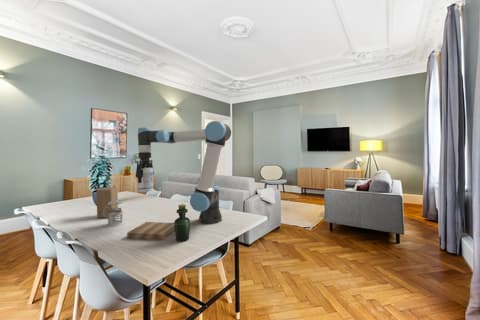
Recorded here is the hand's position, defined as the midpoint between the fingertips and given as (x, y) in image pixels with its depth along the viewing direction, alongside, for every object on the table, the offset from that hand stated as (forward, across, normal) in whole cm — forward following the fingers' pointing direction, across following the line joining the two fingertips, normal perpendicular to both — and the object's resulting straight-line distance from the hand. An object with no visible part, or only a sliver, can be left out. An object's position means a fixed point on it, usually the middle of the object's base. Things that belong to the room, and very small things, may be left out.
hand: (145, 186), depth 139 cm
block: (+23, -10, -35) cm, 43 cm away
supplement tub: (+3, 0, 0) cm, 3 cm away
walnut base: (+23, +16, +14) cm, 32 cm away
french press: (+23, +6, -18) cm, 30 cm away
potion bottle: (+24, +23, +34) cm, 47 cm away
